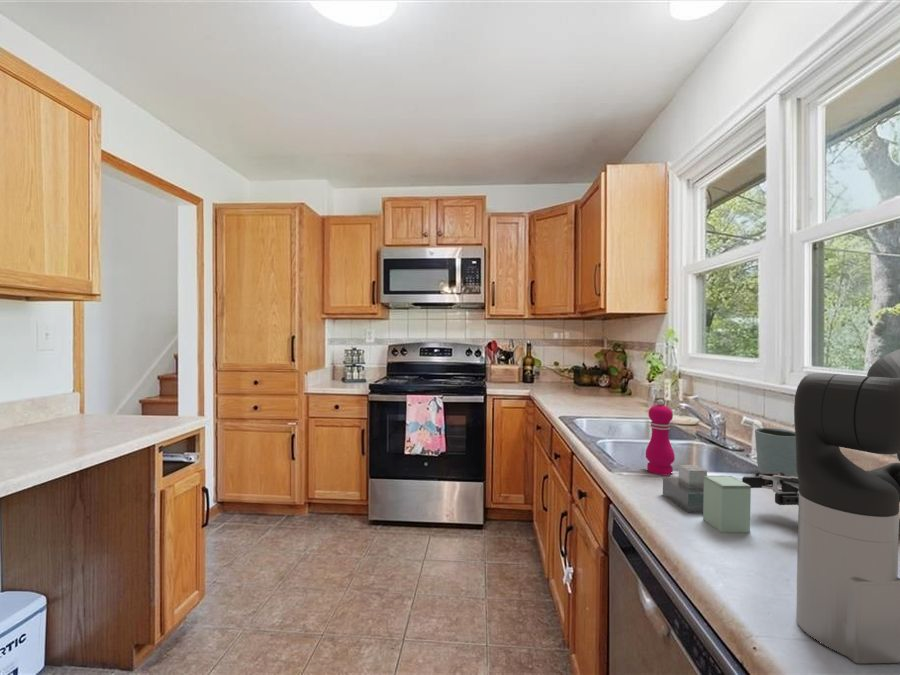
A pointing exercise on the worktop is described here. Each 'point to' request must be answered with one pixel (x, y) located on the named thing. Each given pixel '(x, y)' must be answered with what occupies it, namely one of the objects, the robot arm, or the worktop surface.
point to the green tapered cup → (776, 451)
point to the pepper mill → (660, 440)
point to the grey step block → (686, 488)
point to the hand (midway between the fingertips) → (759, 490)
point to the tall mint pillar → (727, 503)
